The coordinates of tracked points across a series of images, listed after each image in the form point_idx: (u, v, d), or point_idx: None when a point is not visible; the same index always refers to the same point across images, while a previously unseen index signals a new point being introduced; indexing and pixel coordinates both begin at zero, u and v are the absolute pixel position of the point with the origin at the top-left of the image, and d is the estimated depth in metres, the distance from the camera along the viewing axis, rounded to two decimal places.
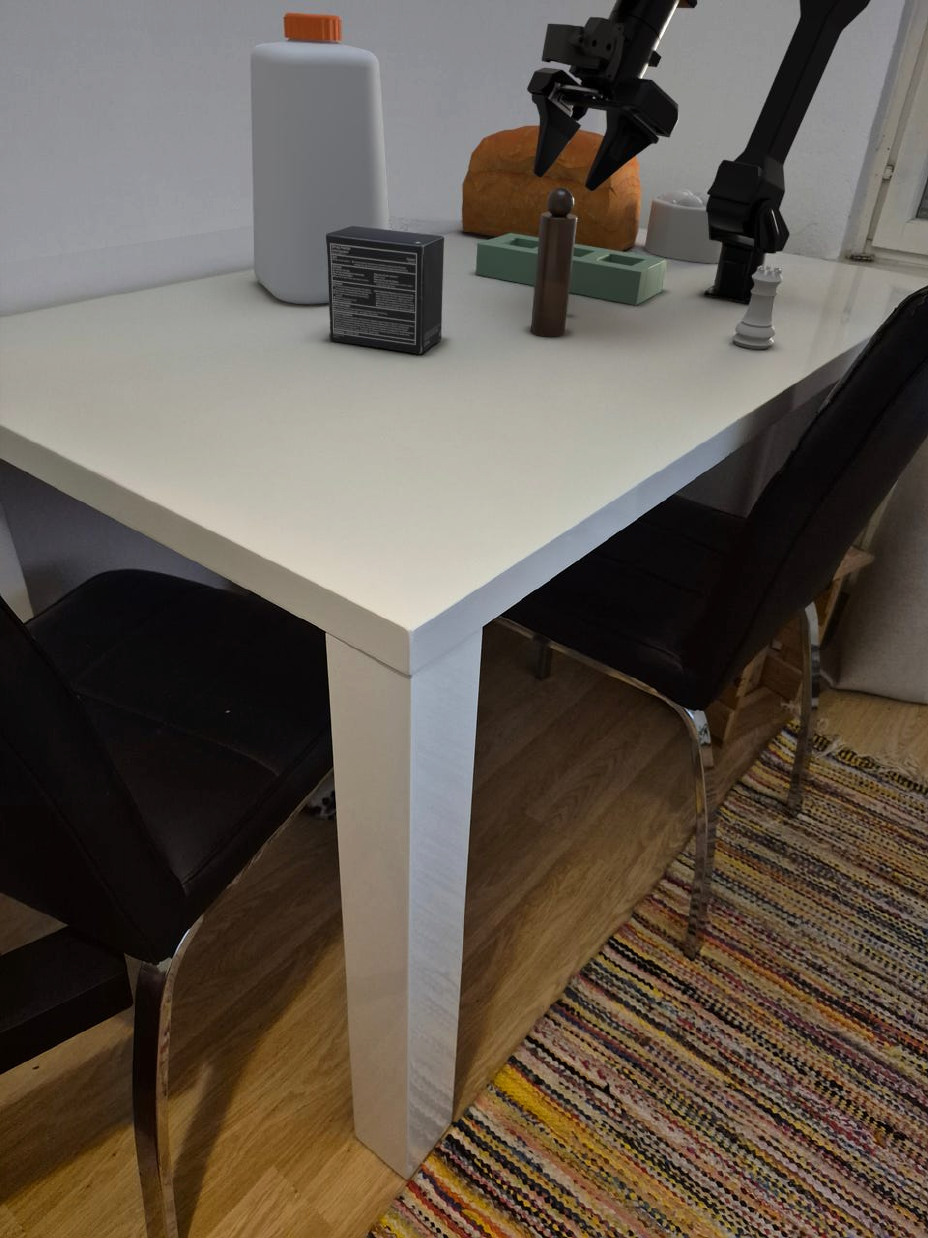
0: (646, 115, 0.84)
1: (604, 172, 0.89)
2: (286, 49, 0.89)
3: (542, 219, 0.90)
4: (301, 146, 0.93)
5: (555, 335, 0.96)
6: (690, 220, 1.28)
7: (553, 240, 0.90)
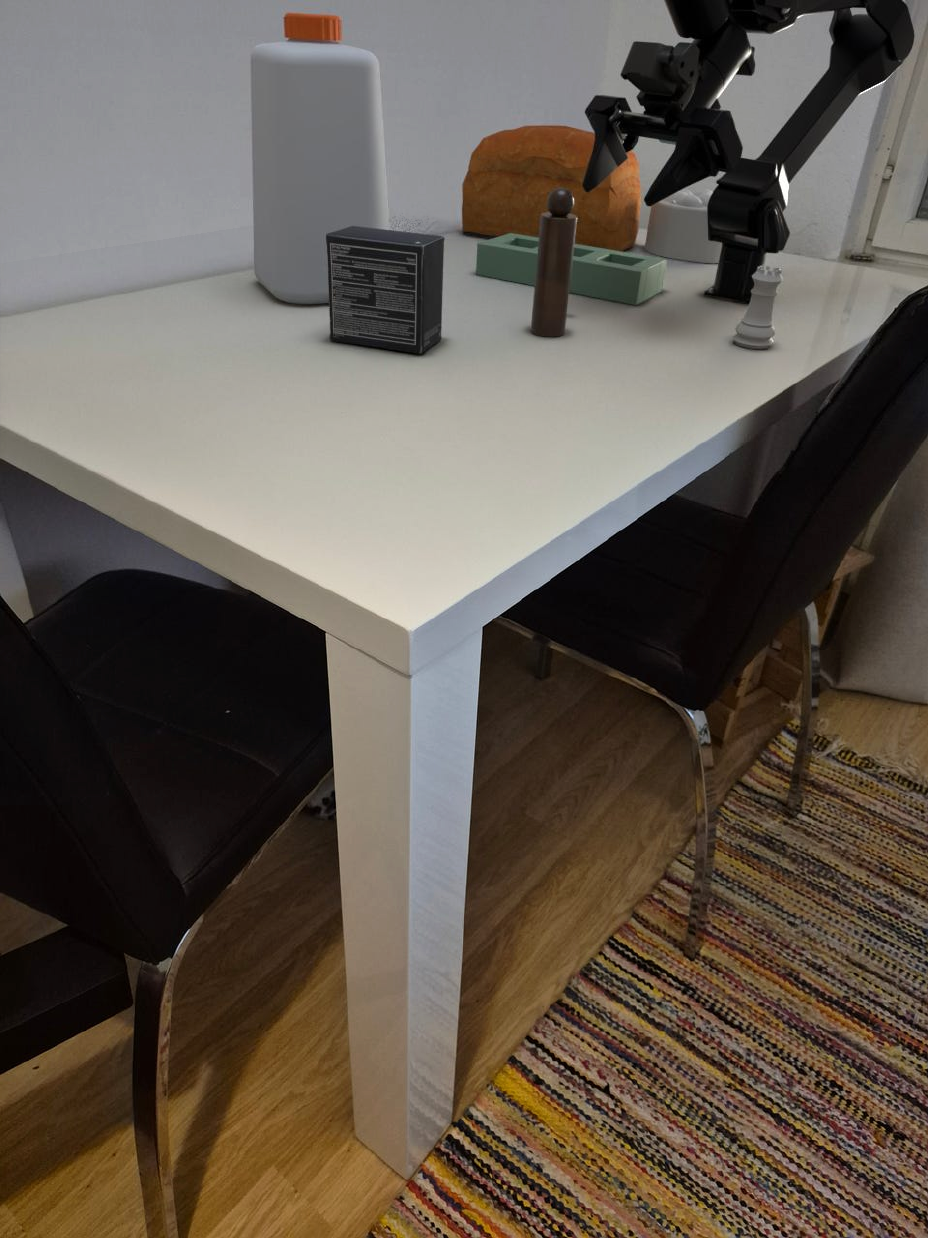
0: (719, 142, 0.87)
1: (664, 191, 0.91)
2: (286, 49, 0.89)
3: (542, 219, 0.90)
4: (301, 146, 0.93)
5: (555, 335, 0.96)
6: (690, 220, 1.28)
7: (553, 240, 0.90)
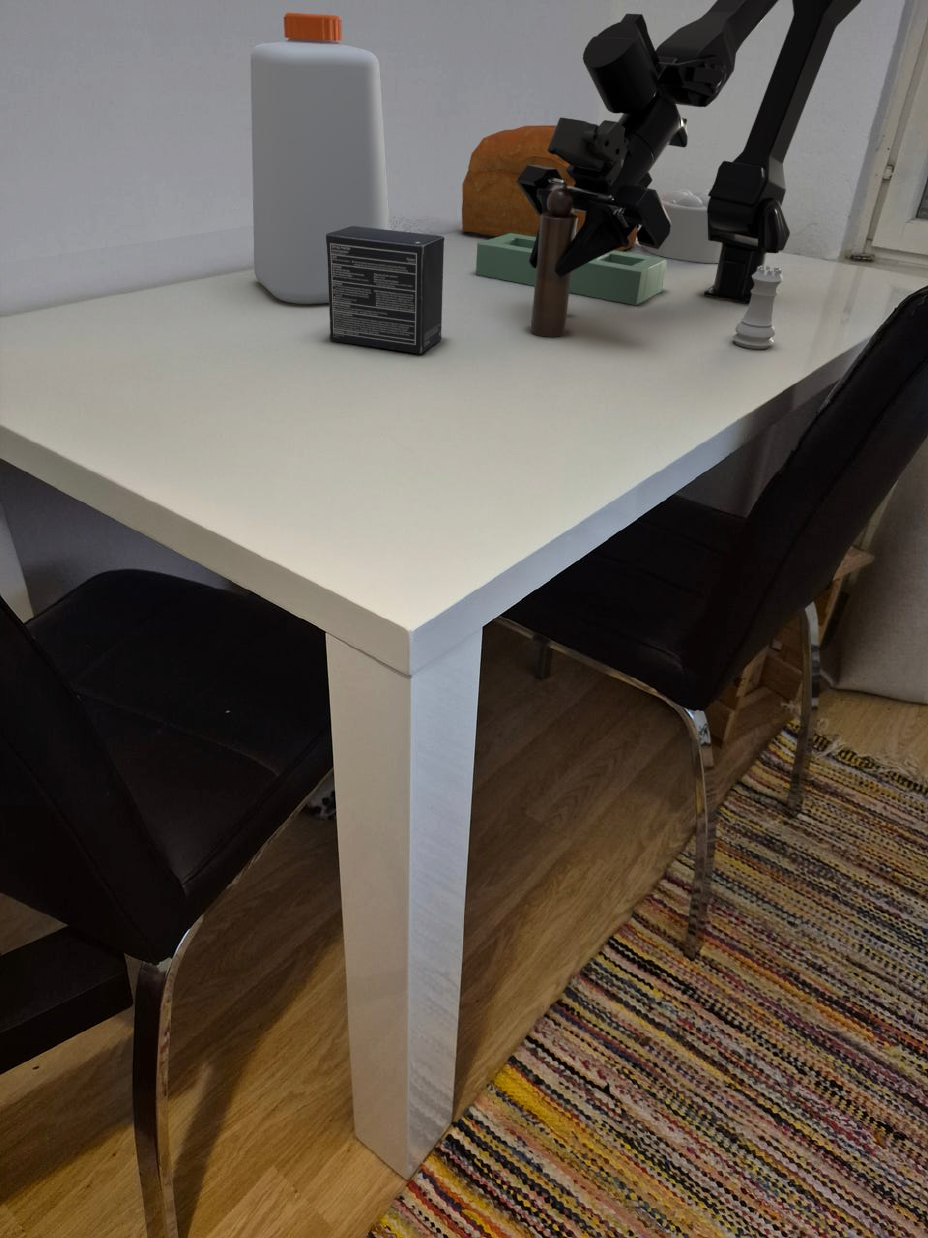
0: (645, 221, 0.86)
1: (575, 262, 0.91)
2: (286, 49, 0.89)
3: (542, 219, 0.90)
4: (301, 146, 0.93)
5: (555, 335, 0.96)
6: (690, 220, 1.28)
7: (554, 240, 0.90)
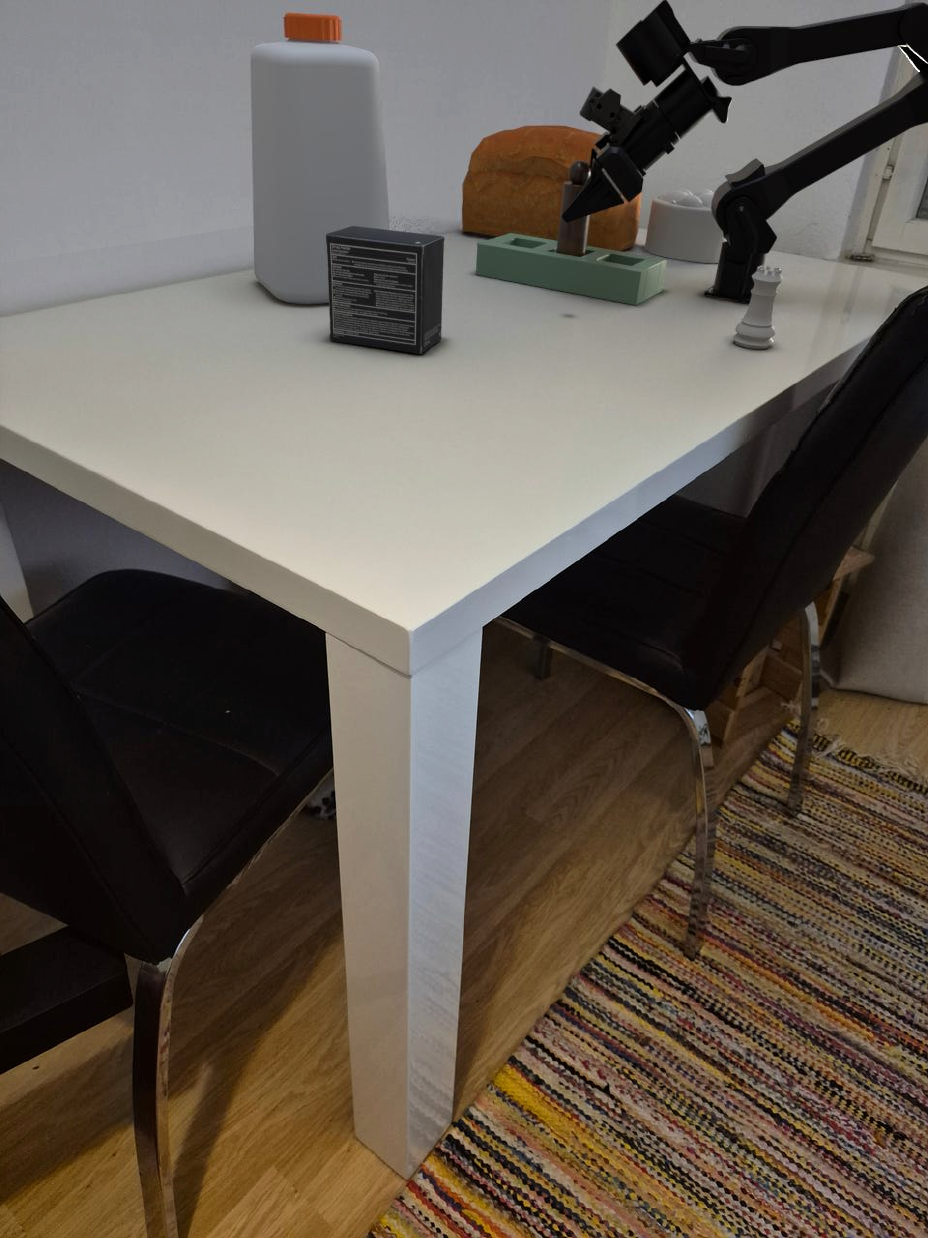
0: (607, 173, 1.01)
1: (578, 211, 1.07)
2: (286, 49, 0.89)
3: None
4: (301, 146, 0.93)
5: None
6: (690, 220, 1.28)
7: (564, 202, 1.10)
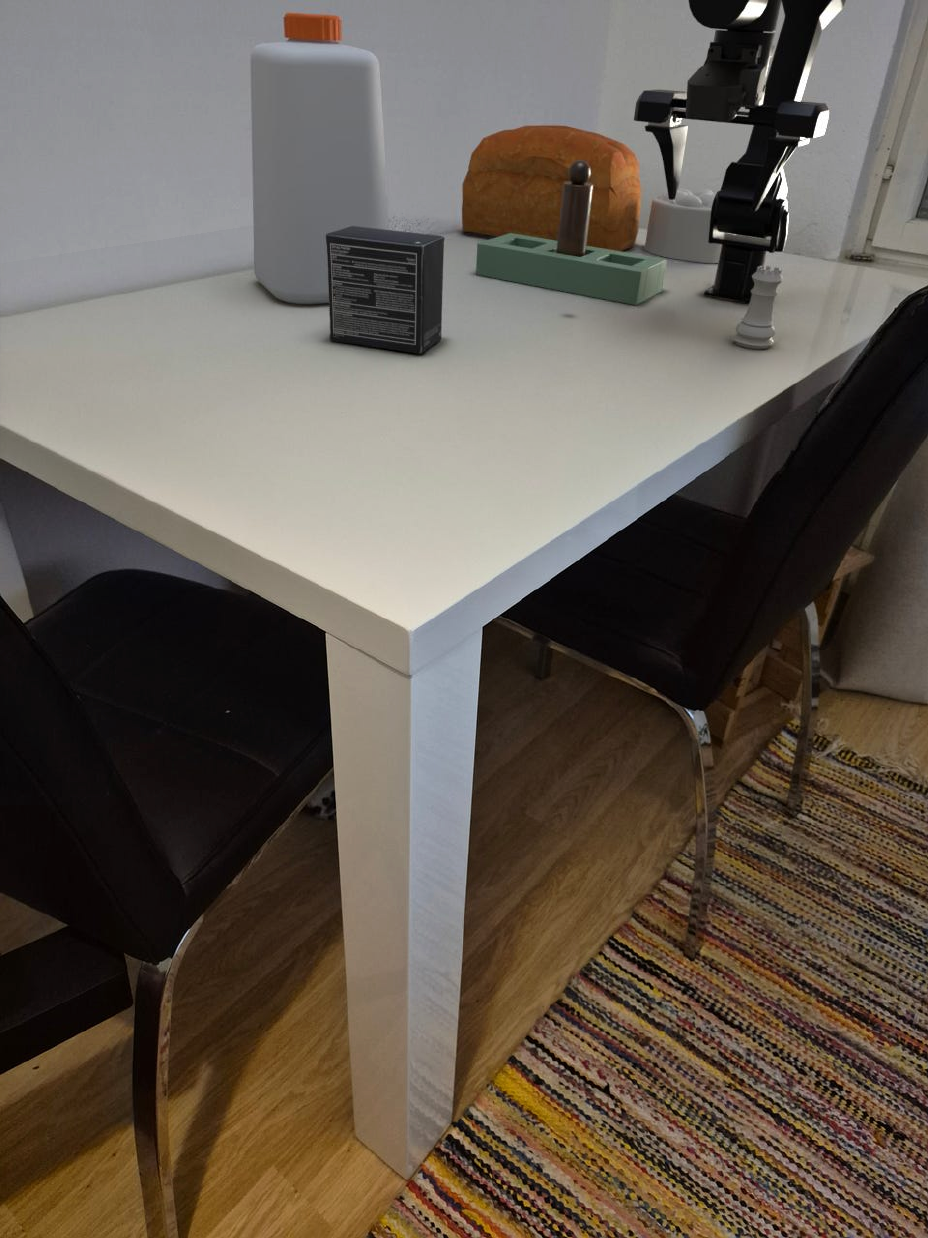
0: None
1: (766, 190, 0.92)
2: (286, 49, 0.89)
3: None
4: (301, 146, 0.93)
5: None
6: (690, 220, 1.28)
7: (564, 202, 1.10)
